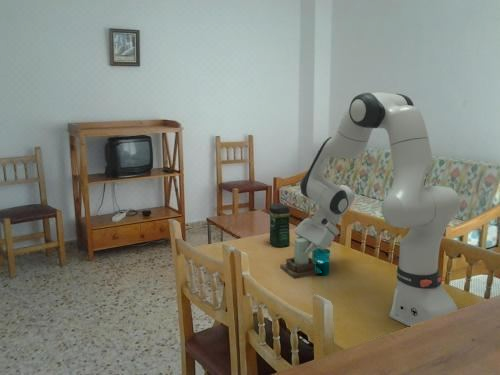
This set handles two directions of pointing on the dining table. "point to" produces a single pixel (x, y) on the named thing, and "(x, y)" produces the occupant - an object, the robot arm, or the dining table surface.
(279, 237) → the coffee jar
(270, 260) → the dining table surface
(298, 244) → the sage block
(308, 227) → the robot arm
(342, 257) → the dining table surface
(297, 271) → the walnut cradle
